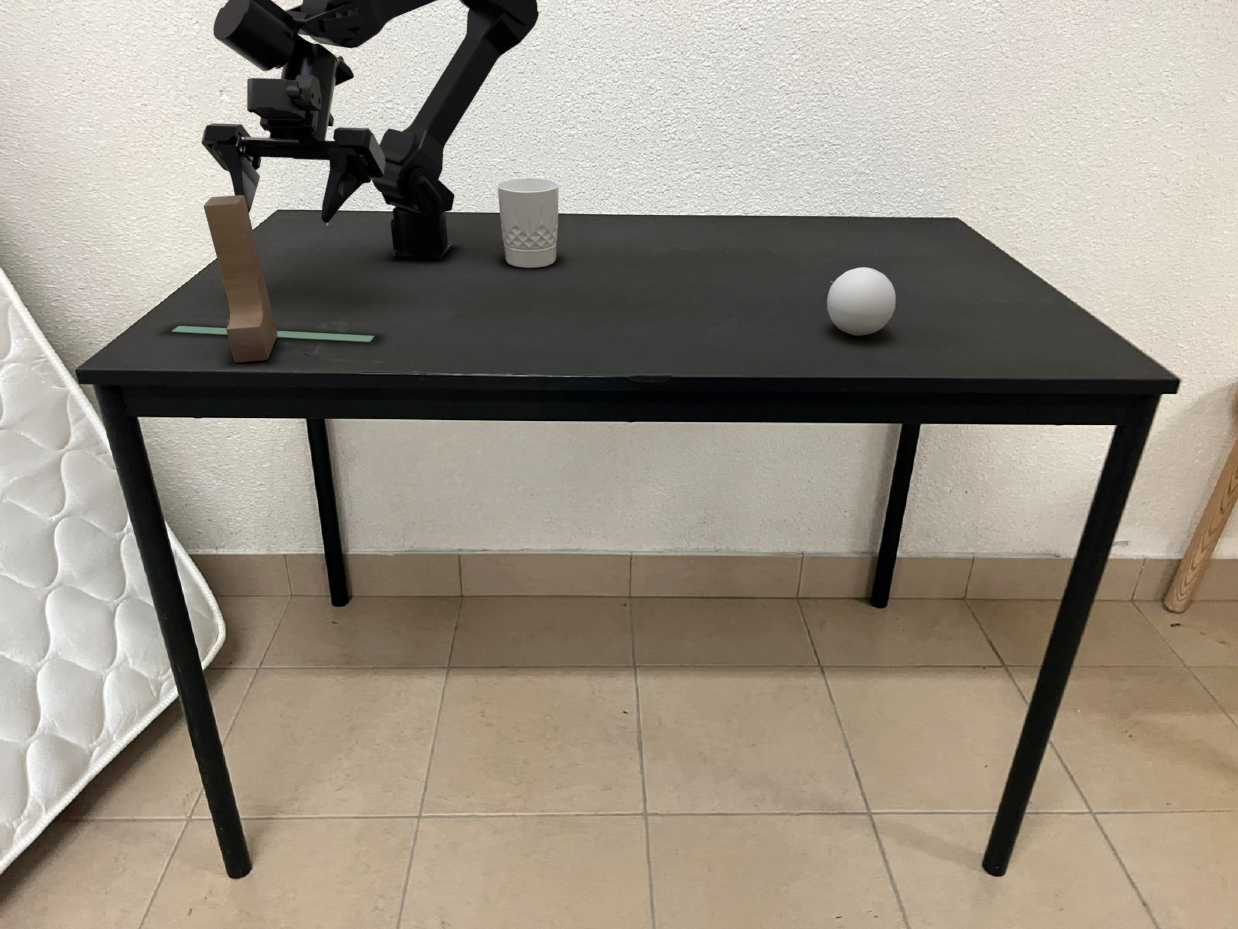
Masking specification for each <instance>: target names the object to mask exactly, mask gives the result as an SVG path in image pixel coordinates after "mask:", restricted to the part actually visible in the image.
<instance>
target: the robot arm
mask: <svg viewBox="0 0 1238 929" xmlns="http://www.w3.org/2000/svg"><path fill="white" fill-rule="evenodd" d="M458 1H459V2H460V3H461V4H462V5H463V6H464V7H466V8H467V9H468V11H467V13H466V14H467V15H466V16H467V17H466V33H465V36H464V38H463V40H462V41H461V43H460V44H459V45H458V48H457V49H456V51H455V52H454V54H453V56H452V57H451V59H450V61H449V62H448V64H447V65H446V67H445V68H444V70H443V72H442V74H441V76H439V78H438V80H437V81H436V83H435V85H434V87H433V88H432V89H431V92H430V93H429V94H428V96H427V97H426V99H425V102H424V103H423V105H422V106H421V108H420V109H419V111H418V112H417V114H416V116H415V117H414V119H413V121H412V122H411V124H410V125H409V126H408V127H406V128H405V129H403V130H399V129H393V128H391V127H390V128H388V129H387V130H386V131H385V132H384V133H383V136H382V138H381V141H380V143H379V142H378V140H377V138H376V136H375V134H374V133H373V131H372V130H371V129H370V128H369V127H343V126H342V127H341V126H340V127H337V128H335V129H334V130H333V136H332V139H333V140H326V139H327V132H328V128H329V127H334V122H335V118H334V116H333V115H332V113H331V110H332V104H333V100H334V93H335V88H336V87H337V86H339V85H342V84H344V83H345V82H348V81H350V80H352V79H354V77H355V75H354V72H353V70H352V69H351V67H350V66H349V65H348V63H346V61H345V59H344V57H343V55H339V56H337V55H336V54H334V53H333V52H332V51H330V50H329V49H328V48H326V47H325V46H324V45H326V46H332V47H333V46H334V47H340V48H345V49H355V48H359V47H361V46H362V45H364V44H365V43H367V42H368V41H371V39H372V38H374V37H376V36H377V35H378V34H380V32H381V31H382V30H383V29H384V28H385V26H386V25H387V24H388V23H389V22H390V21H392V20H394V19H395V18H397V17H400V16H402V15H405V14H407V13H409V12H412V11H414V10H418V9H420V8H422V7H424V6H427V5H430V4H432V3H435V2H438V0H302V3H301V4H299V5H297V6H293V7H291V8H289V9H283V7H281V6H280V5H279V4H277V3H276V2H275V1H273V0H228V1H227V2H226V3H225V4H224V5H223V6H222V7H220V8H219V9H218V12H217V14H216V16H215V19H214V23H213V30H212V31H213V32H212V33H213V36H214V38H215V39H216V40H218V41H219V42H220V43H221V44H224V45H225V46H226V47H228V48H229V49H231V50H232V51H233V52H235V53H237V55H239V56H240V57H242V58H244V60H246V61H248V62H249V63H251V64H252V65H254V66H255V67H256V68H258V69H260V70H261V72H269V71H271V70H273V69H275V70H279V69H282V70H281V76H280V78H266V77H265V78H263V77H249V78H247V79H246V87H247V88H246V93H247V94H246V110H247V112H248V113H250V114H252V113H253V114H255V115H256V116H258V117H260V119H259V126H260V127H261V128H262V130H263V131H264V132H269V137H260V136H259V137H257V136H255V137H254V136H251V135H250V133H249V132H248V130H247V129H246V128H245V127H244V125H243V124H242V123H210V124H207V125H206V126H205V127H204V129H203V133H202V137H201V142H200V143H201V145H202V146H203V147H204V149H206V151H207V152H208V153H209V154H210V155H211V157H212V158H213V159H214V160H215V162H217V164H218V165H219V166H220V167H221V169H222V170H224V171H226V172H228V173H229V176H230V179H231V184H232V189H233V194H234V196H236V195H243V196H244V197H245V199H246V204H247V208H248V212H249V214H250V213H251V210H252V207H253V203H254V200H255V196H256V192H257V189H258V187H259V186H258V185H259V182H260V178H261V175H260V174H259V173H258V171H257V170H258V169H260V168H261V164H262V158H276V159H279V158H280V159H281V158H282V159H294V160H307V161H308V160H310V161H328V162H329V172H328V177H327V181H326V185H325V190H324V195H323V199H322V205H321V214H320V218H321V220H322V222H323V223H324V224H325V223H326V224H328V223H329V222H330V221H331V220H332V219H333V217H334V216H335V215H336V214H337V212H338V211H339V210H340V209H341V208H342V206H343V205H344V204H345V202H347V200H348V199H349V198H350V197H351V196H352V195H353V194H354V193H355V192H357V190H358V189H359V188H360V187H361V186H363V185H364V184H370V183H371V182H372V184H373V186H374V188H375V189H376V190H377V191H378V192H380V194H381V196H382V198H383V200H384V202H385V204H386V205H388V206H393V208H392V218H391V219H390V220H389V224H390V231H391V242H392V249H393V250H394V251H395V252H394V253H393V259H398V260H399V259H400V260H421V261H422V260H423V261H441V260H442V259H443V258H444V257H445V256H446V255H447V253H448V252H449V251H450V250H451V249H452V247H453V244H452V243H451V242H449V241H448V240H449V238H448V229H447V216H446V212H447V213H448V212H451V211H452V210H453V206H454V201H455V193H454V192H453V191H452V190H451V189H450V188H448V186H446V185H445V184H444V182H442V181H440V178H441V174H442V172H443V169H444V168H443V167H444V166H443V165H444V150H445V147H446V145H447V143H448V142H449V139H450V138H451V137H452V135H453V134H454V131H455V130H456V128H457V127H458V125H459V123H460V122H461V120H462V119H463V117H464V115H465V113H466V112H467V110H468V109H469V108H470V106H471V104H472V102H473V100H474V99H475V97H477V96H476V95H477V94H478V92H479V91H480V89H481V87H482V86H483V84H484V83H485V81H486V79H487V77H488V76H489V74H490V73H491V71H492V69H493V68H494V66H495V65H496V63H497V62H498V60H499V59H500V57H502V56H503V55H504V54H506V53H507V52H509V51H511V50H512V49H514V48H515V47H517V46H518V45H519V44H521V43H522V41H523V40H525V39H526V37H527V36H528V35H529V34H530V32H531V31H532V30H533V29H534V27H535V26H536V24H537V22H538V20H539V15H540V12H539V10H538V2H537V0H458ZM302 36H308V37H309V38H311V40H313V41H314V42H316V43H313V42H311V41H309V40H307V39H306V38H304V37H302Z"/></svg>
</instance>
